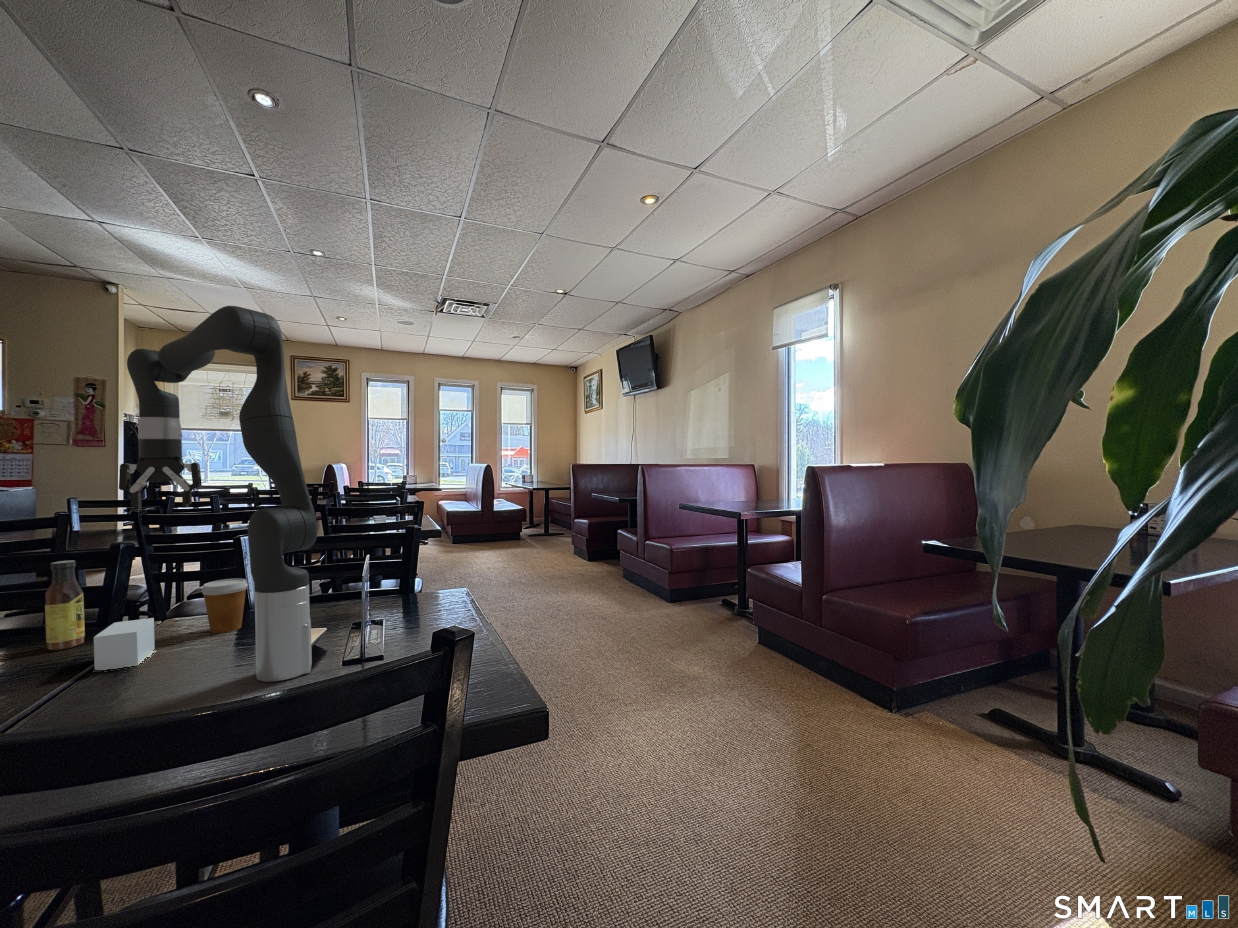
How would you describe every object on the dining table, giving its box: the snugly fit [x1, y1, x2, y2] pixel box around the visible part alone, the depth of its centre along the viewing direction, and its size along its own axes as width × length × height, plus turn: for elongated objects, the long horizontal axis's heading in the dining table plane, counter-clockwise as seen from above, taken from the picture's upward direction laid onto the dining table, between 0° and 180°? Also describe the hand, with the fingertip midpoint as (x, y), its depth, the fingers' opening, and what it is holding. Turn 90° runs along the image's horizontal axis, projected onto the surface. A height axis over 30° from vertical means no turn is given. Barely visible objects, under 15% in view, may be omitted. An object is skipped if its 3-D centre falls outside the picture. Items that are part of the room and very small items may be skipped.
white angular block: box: [93, 617, 156, 670], centre depth 113 cm, size 7×11×7 cm, turn 28°
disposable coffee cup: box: [201, 578, 249, 634], centre depth 133 cm, size 10×10×12 cm
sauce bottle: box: [44, 559, 86, 651], centre depth 122 cm, size 7×6×20 cm
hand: (162, 508), depth 121 cm, fingers open, 8 cm apart
